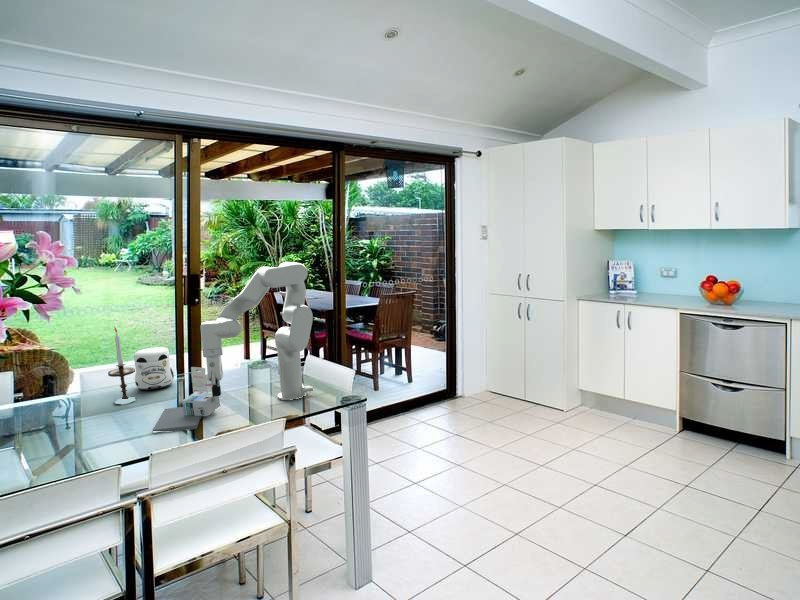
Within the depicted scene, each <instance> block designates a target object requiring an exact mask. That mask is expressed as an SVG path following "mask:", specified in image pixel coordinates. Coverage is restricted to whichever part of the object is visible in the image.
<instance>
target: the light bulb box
mask: <svg viewBox="0 0 800 600" xmlns="http://www.w3.org/2000/svg"><path fill="white" fill-rule="evenodd" d="M181 403H182V407H183V412H184V416H202V417H208V416H210V415H211V414H212V413H213V412H214V411H216V410H217V409H218V408H219V407H221V401H220V396H214V397H213V396H212V392H197V391H196V392H194V393H191V394H190V395H188V396H187V397H186V398H184V399H182V401H181Z"/></svg>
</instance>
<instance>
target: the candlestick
mask: <svg viewBox="0 0 800 600" xmlns="http://www.w3.org/2000/svg"><path fill="white" fill-rule="evenodd" d="M113 328H114V331H115V336H114V343H115V349H116V355H117V356H116V357H117V365H115V367H118V368H115V369H112V370H110V371H108V372H107V374H108V377H113V378H114V377H118V378H119V377H120V385H119V387H120V389H121V390H120V392H121V393H122V397H121V398H122V399H128V398H129V396H128V395H127V392H128V390H127V387H128V384H126V383H125V377H126V376H129V375H131V374H134V373H136V367H135V368H134V367H128V366H127V367H125V366H126V364H125V363H124V361H123V354H122V345H121V338H120V335H119V334H118V330H117V328H116V326H115V325H114V327H113Z"/></svg>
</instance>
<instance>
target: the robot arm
mask: <svg viewBox="0 0 800 600" xmlns="http://www.w3.org/2000/svg"><path fill="white" fill-rule="evenodd" d="M307 277H308V269H307V267H306V266H305V265H304V264H303V263H301V262H293V261H284V262H281V263H280V264H279V266H277V267H275V266H274V267H272V266H271V267H270V266H261V267H260V268H258V269H257V270H256V271H255V272H254V274H253V275H252V277H251V278H250V280H249V281H248V282H247V284H245V287H244V288H243V290H241V292H240V293H239V294H238V295H237V296H236V297H234V298H233V299H232V300H231V301H229V302H228V303H227V304H226V306H224V308H223V309H222V310H221V312H220V313H219V315H218V316H217V317H216V319H215V320H209V321H204V322H202V323H201V324H200V335H201V346H202V357H203V358H205V359H206V370H207V371H206V372H208V380H209V381H211V383H212V396H213V397H214V396H219V397H221V396H222V391H221V390H222V388H221V384H220V382H221V381H222V380H223V376H224V370H223V362H222V357H221V356H223V355H224V353H223V345H222V343H223V342H222V339H227V338H228V339H232V338H236V337H238V336H239V335H240V334H241V333H242V330H243V328H242V324H241V323H240V321H238V318H240V317H241V315H243V314H244V313H246V312H247V311H249V310H252V309H253V308H256V307H257V306H259V304H260V303H261V301H262V299H263V298H264V296H265V295H266V294H267V292H268V291H269V290H270V288H271V289H275V288H276V289H277V288H278V289H279V288H284V287H285V290H286V291H285V299H284V303H283V308H282V312H281V313H282V314H281V317H282V320H283V321H284V322H285V323H287V324H290V326H282V327H280V328H279V329H278V330H277V331H276V332H275V334H274V343H275V347H276V351H277V358H278V372H279V383H280V393H278V394H277V398H279V399H278V400H280V399H281V401H284V400H290V399H296V398H299V397H302V396H304V395H305V394H306V395H307V392H313V391H314V387H313V386H310V385H307V386H305V385H304V384H303V379H302V378H303V376H302V363H301V361H302V360H301V353H300V352H302V351H304V350H305V349H306V348H307V346H308V344H309V341H310V340H309V339H310V336H311V330H312V325H313V318H314V316H313V312H312V309H311V308H310V307H309V306H308V305H305V302H306V296H307V295H306V294H307V288H306V284H305V280H306V279H307Z"/></svg>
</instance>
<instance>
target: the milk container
mask: <svg viewBox="0 0 800 600" xmlns="http://www.w3.org/2000/svg"><path fill="white" fill-rule="evenodd" d="M133 356H134V357H133V360H134V366H135V375H134V383H135V386H136V388H137V389H139V390H143V391H152V390H153V391H154V389H155V390H160V389H164V388H166V387H169V386H170V385H172V384H173V383H174V377H175V376H174V371H173V369H172V366H171V357H170V352H169V348H167V347H150V348H142V349H140V350H137V351H135V352H134V354H133Z"/></svg>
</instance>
